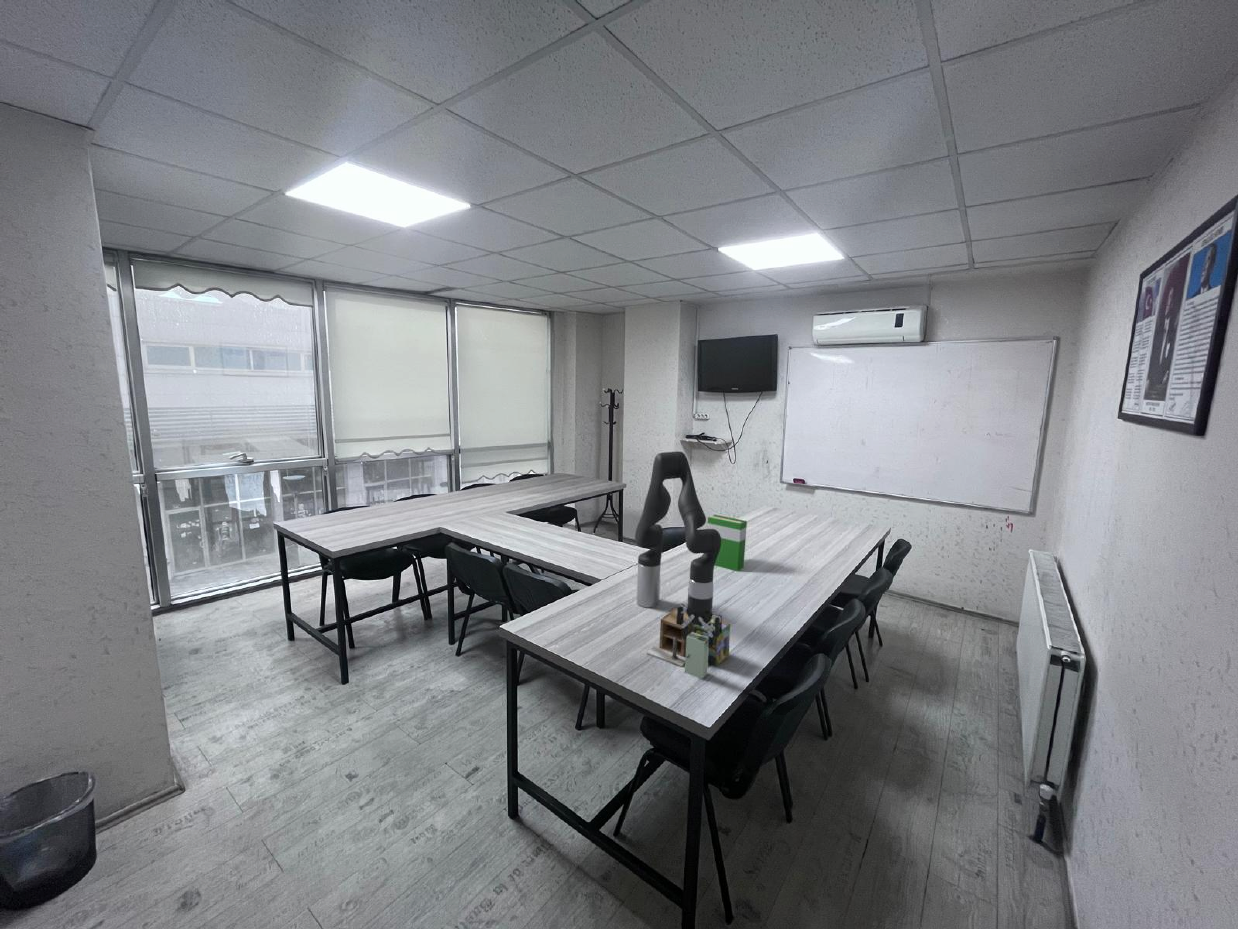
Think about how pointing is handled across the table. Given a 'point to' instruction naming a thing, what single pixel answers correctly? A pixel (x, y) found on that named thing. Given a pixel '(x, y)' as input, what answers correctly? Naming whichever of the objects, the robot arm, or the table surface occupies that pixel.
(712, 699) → the table surface
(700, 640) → the hollow square pipe
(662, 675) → the table surface
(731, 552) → the hardback book
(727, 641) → the chalk box
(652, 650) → the small wooden cupboard
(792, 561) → the table surface
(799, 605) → the table surface
